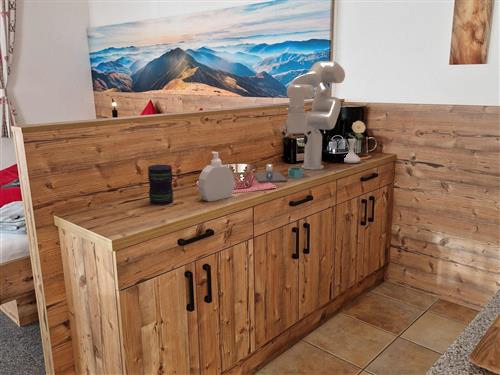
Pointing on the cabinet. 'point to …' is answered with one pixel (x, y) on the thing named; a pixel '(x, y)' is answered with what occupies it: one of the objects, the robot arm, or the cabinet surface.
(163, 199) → the storage jar
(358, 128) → the flower in vase
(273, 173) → the metal plate with knob
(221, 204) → the cabinet surface
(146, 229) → the cabinet surface
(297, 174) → the ring
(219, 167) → the soap bottle
